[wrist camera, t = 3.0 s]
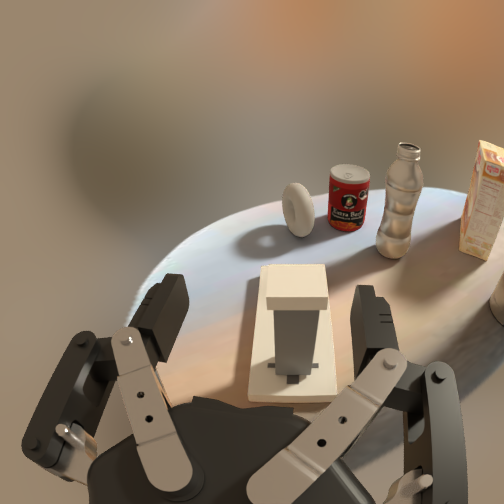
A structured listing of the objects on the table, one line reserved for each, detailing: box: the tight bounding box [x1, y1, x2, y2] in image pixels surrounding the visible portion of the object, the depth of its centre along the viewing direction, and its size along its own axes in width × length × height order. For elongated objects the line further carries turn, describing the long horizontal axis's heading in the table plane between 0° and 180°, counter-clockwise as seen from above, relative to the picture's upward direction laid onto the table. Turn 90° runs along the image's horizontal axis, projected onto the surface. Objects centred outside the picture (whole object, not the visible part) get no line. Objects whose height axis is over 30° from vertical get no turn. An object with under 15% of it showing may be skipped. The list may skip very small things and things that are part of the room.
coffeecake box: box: [459, 140, 504, 261], centre depth 48 cm, size 15×7×20 cm, turn 145°
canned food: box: [328, 164, 370, 231], centre depth 58 cm, size 8×8×11 cm
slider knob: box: [266, 264, 329, 375], centre depth 30 cm, size 5×4×14 cm
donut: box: [282, 183, 315, 237], centre depth 56 cm, size 10×3×10 cm, turn 16°
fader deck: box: [247, 266, 337, 403], centre depth 41 cm, size 10×22×2 cm, turn 175°
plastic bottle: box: [376, 143, 424, 259], centre depth 46 cm, size 6×7×20 cm
